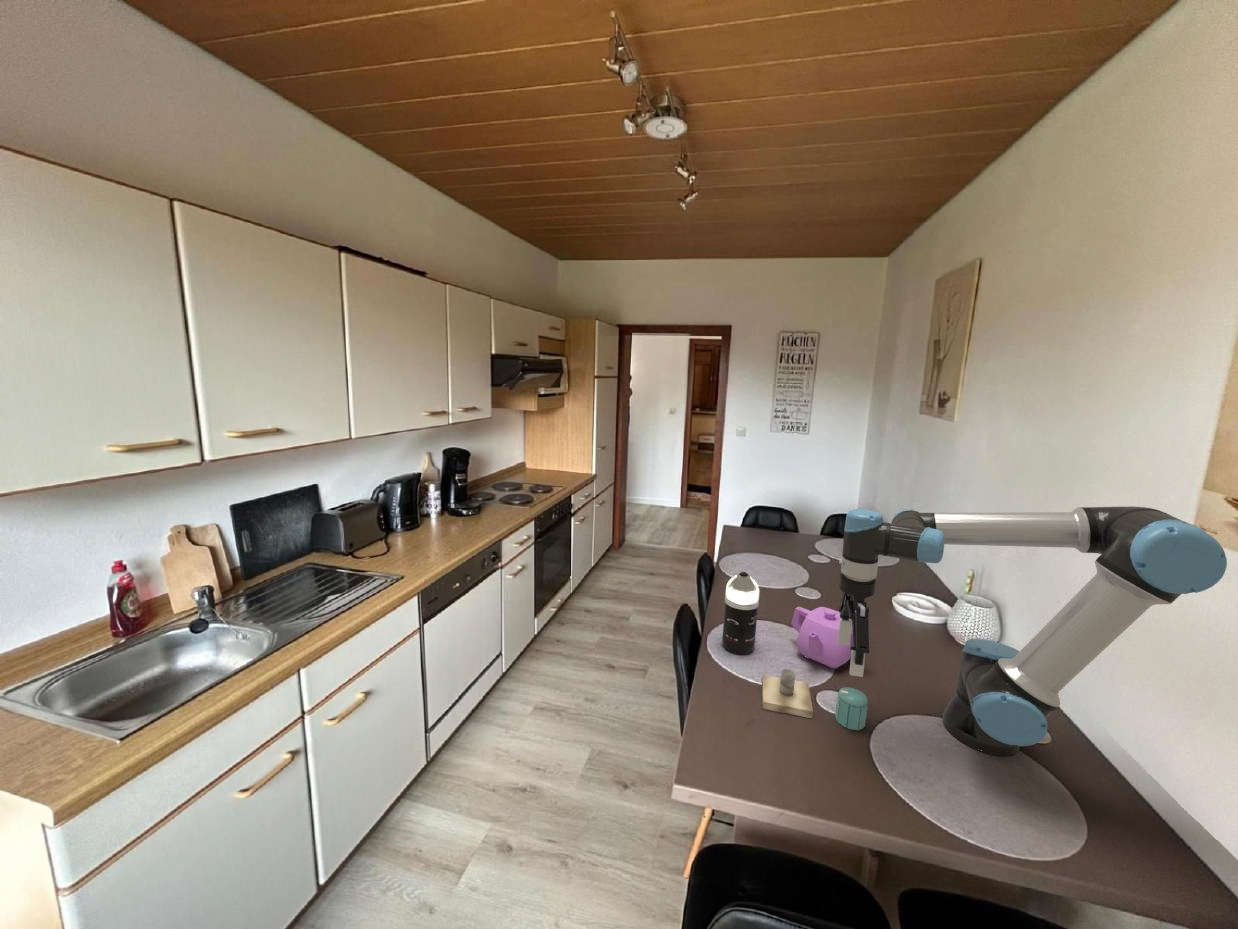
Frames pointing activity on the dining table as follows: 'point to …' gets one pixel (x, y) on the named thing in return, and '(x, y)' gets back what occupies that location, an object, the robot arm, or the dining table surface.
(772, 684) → the bolt post
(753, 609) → the black bottle
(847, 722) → the cap
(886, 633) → the dining table surface
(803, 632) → the teapot
